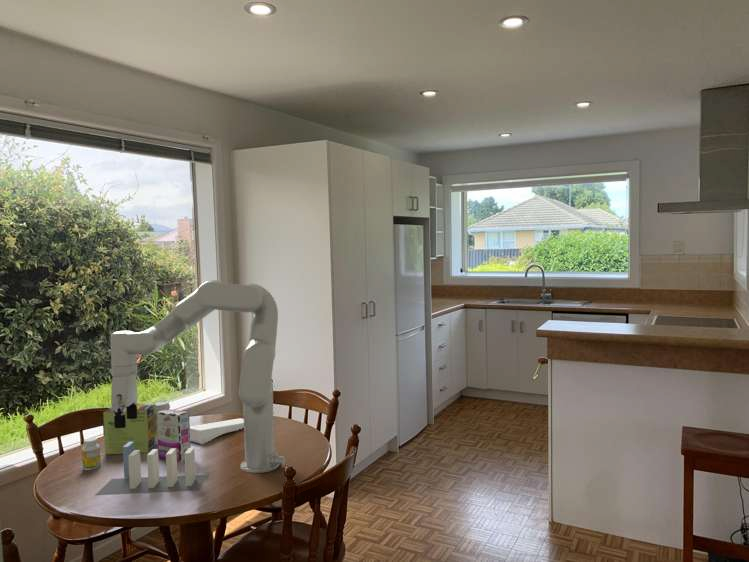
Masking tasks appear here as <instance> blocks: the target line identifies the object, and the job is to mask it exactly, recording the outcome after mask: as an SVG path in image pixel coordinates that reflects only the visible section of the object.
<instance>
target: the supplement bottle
mask: <svg viewBox="0 0 749 562" xmlns="http://www.w3.org/2000/svg"><path fill="white" fill-rule="evenodd" d="M81 456H82V457H81V459H82V469H83V470H84V471H87V470H89V471H91V470H95V469H98V468H99V467H101V446H100V444H98V438H97V437H89V438H85V439H84V440H83V446H82V448H81Z"/></svg>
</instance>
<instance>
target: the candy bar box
mask: <svg viewBox="0 0 749 562" xmlns="http://www.w3.org/2000/svg"><path fill="white" fill-rule="evenodd" d="M156 416H157V449H158V458H159V459H160V460H165V461H166V453H167V452H168V451H169V450H170V449H171V448H176V454H177V462H179V463H180V462H183V461H184V462H185V455H184V453H185V452H186V451H187V450H188V448H191V441H190V427H191V425H190V412H189V411H185V410H177V409H176V410H175V409H171V408H169V409H165V410H162V411H159V412H156Z"/></svg>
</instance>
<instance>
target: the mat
mask: <svg viewBox="0 0 749 562" xmlns="http://www.w3.org/2000/svg"><path fill="white" fill-rule="evenodd" d="M195 476H196V480H195V481H194V483H193V484H192V486H186V479H185V475H177V478H178V480H177V482H176V483H175V484H174V486H173V487H167V475H166V476H159V482H158V483H157V485H156V486H155V487H154V488H149V486H148V476H146V477H144V476H143V477H142V476H141V483H140V484H139V485H138V486H137V487H136V488H135V489H130V481H129V477H122V478H111V479H110V480H109V481H108V482H107V483H106V484H105V485H104V486H103V487H101V489H99V491H97V493H95V495H94V496H103V495H104V496H105V495H108V496H109V495H128V494H146V493H147V494H150V493H151V494H152V493H172V492H194V491H200V490H201V488H202V486H203V485H204V484H205V481H206V480H207V478H208V477H209V474H195Z"/></svg>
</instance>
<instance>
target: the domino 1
mask: <svg viewBox="0 0 749 562" xmlns="http://www.w3.org/2000/svg"><path fill="white" fill-rule="evenodd" d="M128 460H129V476H128V478H129V481H130V489H135V488H136V487H137V486H138V485H139V484H140V483H141V478H142V469H141V467H142V466H141V465H142V464H141V453H140V450H134V451H133V452H132V453H131V454H130V455H129V456H128Z"/></svg>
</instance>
